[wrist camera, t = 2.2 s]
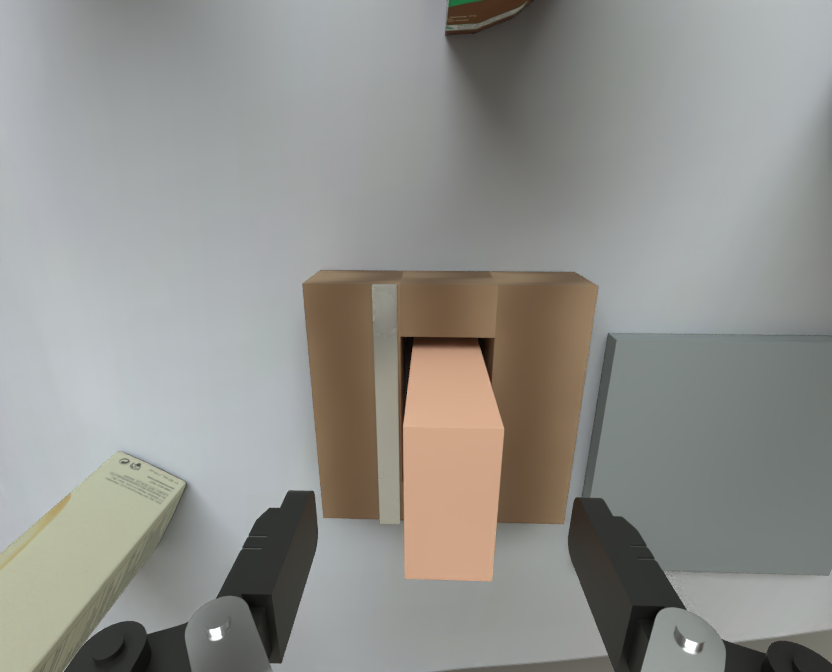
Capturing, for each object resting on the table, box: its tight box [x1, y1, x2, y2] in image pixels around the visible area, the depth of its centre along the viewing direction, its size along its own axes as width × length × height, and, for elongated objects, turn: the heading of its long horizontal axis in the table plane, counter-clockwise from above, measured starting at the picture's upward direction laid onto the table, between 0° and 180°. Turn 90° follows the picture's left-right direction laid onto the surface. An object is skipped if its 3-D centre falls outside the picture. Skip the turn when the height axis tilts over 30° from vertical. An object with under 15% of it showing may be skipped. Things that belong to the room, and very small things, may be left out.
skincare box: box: [0, 451, 186, 672], centre depth 20 cm, size 6×4×12 cm
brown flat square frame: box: [302, 270, 598, 524], centre depth 20 cm, size 12×12×3 cm
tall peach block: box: [403, 337, 504, 581], centre depth 18 cm, size 3×6×9 cm, turn 0°
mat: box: [582, 333, 832, 576], centre depth 22 cm, size 14×14×1 cm
